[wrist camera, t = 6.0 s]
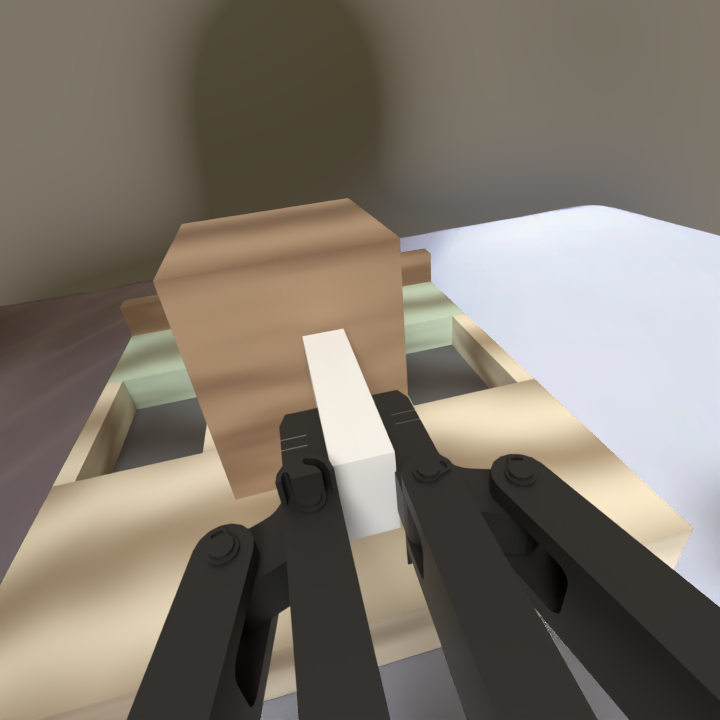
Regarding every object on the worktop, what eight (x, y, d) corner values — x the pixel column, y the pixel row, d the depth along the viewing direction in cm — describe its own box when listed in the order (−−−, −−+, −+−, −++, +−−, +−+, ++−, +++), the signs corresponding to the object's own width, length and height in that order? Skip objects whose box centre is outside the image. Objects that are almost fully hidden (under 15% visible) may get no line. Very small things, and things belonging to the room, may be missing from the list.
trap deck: (669, 577, 17) (716, 478, 14) (-28, 790, 13) (-159, 720, 10) (425, 306, 40) (424, 248, 37) (149, 359, 36) (124, 300, 34)
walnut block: (411, 454, 19) (399, 237, 14) (235, 499, 18) (152, 281, 13) (366, 367, 26) (348, 198, 21) (236, 396, 25) (181, 224, 20)
